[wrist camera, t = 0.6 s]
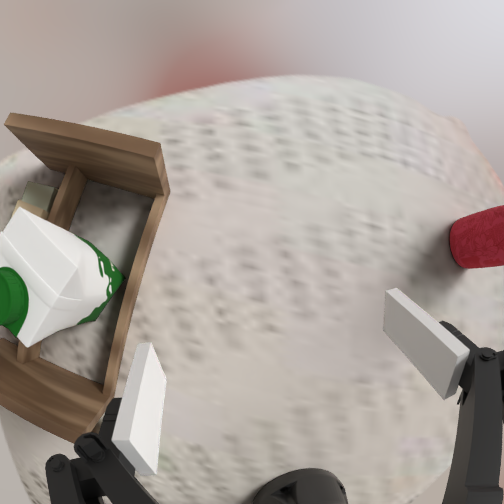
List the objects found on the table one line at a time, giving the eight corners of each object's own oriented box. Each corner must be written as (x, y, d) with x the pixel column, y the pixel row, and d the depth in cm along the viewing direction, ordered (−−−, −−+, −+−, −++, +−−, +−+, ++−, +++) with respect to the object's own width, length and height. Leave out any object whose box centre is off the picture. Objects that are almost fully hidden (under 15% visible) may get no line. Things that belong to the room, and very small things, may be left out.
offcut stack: (34, 334, 32) (12, 339, 27) (6, 320, 32) (-17, 323, 26) (70, 195, 36) (54, 181, 30) (41, 186, 35) (22, 172, 29)
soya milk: (50, 287, 34) (-47, 282, 14) (88, 233, 35) (7, 185, 16) (97, 331, 34) (16, 365, 15) (136, 276, 36) (79, 262, 17)
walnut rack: (113, 398, 33) (80, 446, 20) (2, 347, 31) (-57, 363, 17) (170, 191, 38) (160, 143, 24) (53, 159, 35) (10, 112, 22)
